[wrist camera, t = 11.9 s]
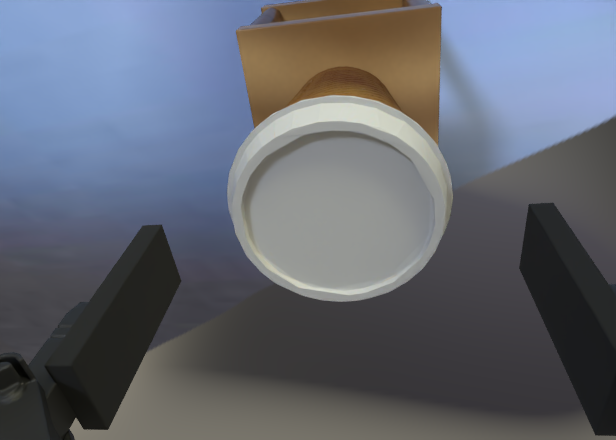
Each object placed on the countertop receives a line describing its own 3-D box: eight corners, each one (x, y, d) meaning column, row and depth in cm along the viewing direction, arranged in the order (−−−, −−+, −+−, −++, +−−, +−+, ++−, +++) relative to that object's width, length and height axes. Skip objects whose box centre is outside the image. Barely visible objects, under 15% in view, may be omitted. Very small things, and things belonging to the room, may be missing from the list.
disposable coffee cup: (239, 129, 30) (179, 234, 20) (330, -1, 25) (312, 50, 15) (354, 210, 32) (352, 340, 22) (455, 105, 28) (512, 208, 18)
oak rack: (263, 5, 35) (235, 30, 27) (421, -15, 33) (441, 5, 25) (286, 148, 41) (268, 203, 33) (420, 137, 39) (437, 192, 31)
